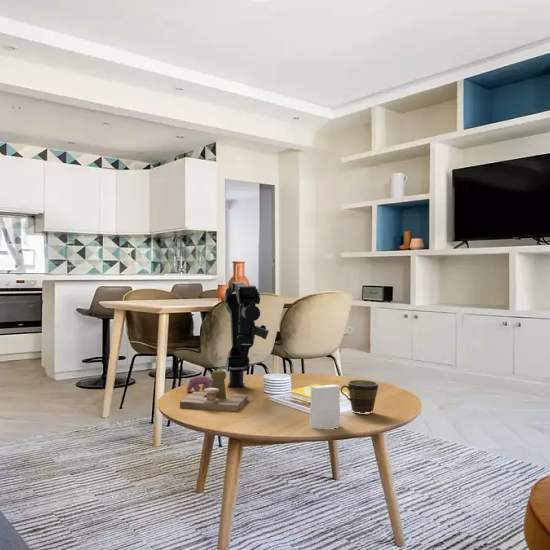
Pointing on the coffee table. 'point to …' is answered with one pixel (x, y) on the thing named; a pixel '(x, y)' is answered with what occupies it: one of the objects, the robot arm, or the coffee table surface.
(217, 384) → the olive bulb shape
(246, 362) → the robot arm
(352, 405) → the ceramic cup
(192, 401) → the notched board
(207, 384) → the purple toy elephant
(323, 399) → the upright rounded white block
